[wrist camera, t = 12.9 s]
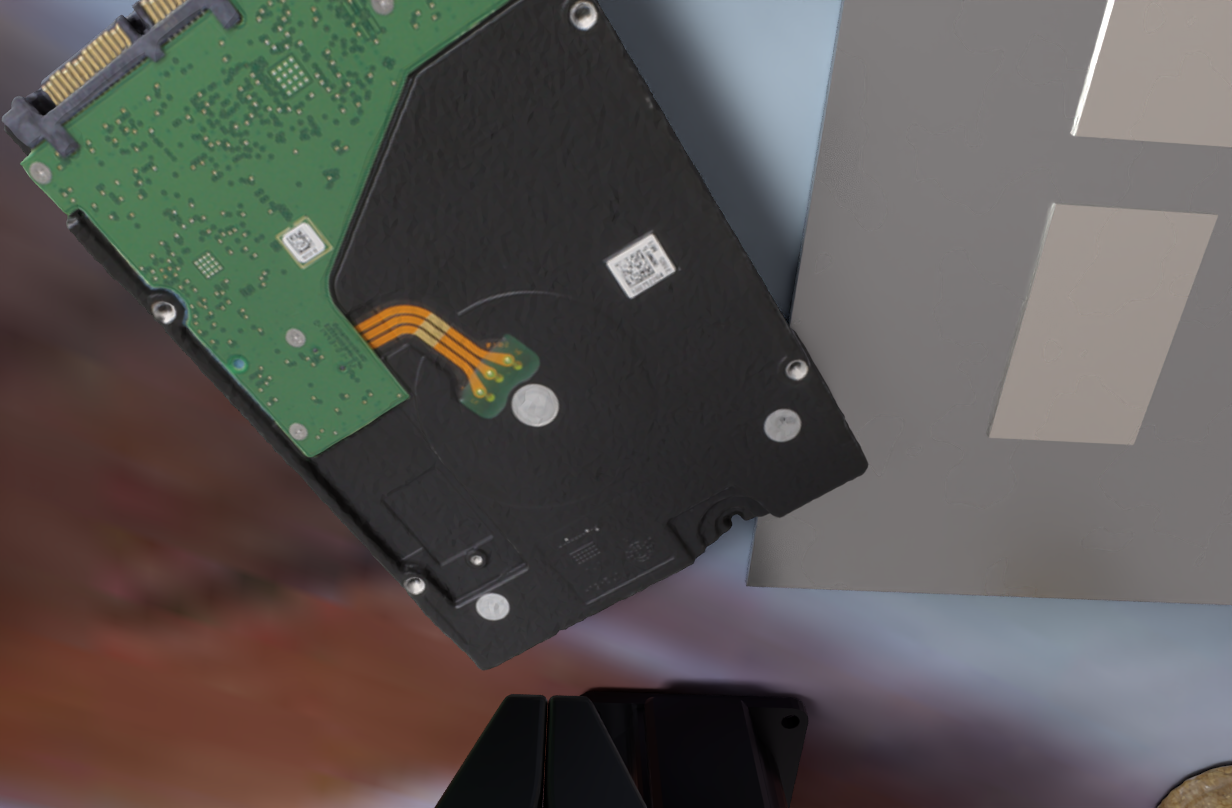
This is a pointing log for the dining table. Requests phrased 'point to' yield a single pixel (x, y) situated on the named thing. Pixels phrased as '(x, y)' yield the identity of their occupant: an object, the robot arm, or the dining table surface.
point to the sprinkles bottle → (1203, 791)
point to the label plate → (1022, 303)
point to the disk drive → (446, 287)
